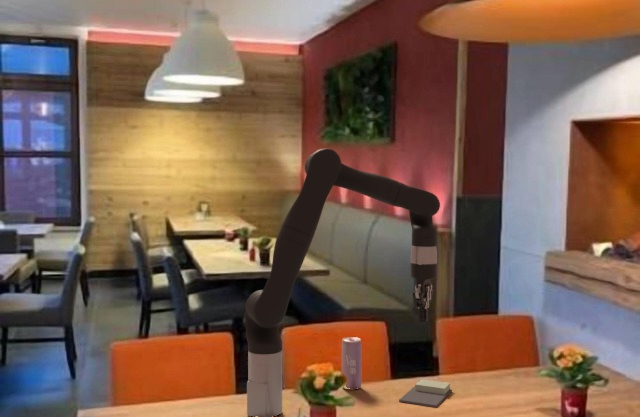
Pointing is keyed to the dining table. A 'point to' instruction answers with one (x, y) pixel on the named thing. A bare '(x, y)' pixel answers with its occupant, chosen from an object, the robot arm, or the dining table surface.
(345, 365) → the beverage can
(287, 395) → the dining table surface
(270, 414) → the robot arm
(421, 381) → the board
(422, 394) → the mat
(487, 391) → the dining table surface
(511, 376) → the dining table surface
